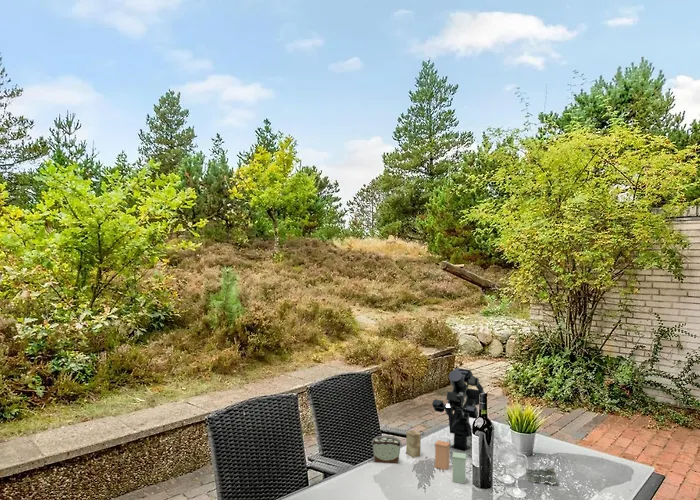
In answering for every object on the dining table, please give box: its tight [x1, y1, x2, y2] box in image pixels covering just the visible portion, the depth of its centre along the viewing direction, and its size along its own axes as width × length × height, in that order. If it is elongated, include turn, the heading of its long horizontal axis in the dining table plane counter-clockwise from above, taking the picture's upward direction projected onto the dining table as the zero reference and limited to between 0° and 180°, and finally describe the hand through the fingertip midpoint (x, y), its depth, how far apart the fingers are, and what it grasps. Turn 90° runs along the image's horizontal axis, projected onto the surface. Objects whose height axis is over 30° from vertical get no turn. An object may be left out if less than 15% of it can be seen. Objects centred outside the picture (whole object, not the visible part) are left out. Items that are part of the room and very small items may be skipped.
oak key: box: [405, 429, 422, 459], centre depth 190 cm, size 4×5×9 cm
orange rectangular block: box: [434, 440, 451, 471], centre depth 180 cm, size 4×5×9 cm
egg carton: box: [525, 467, 558, 483], centre depth 173 cm, size 11×8×4 cm
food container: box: [370, 435, 403, 465], centre depth 185 cm, size 12×6×10 cm, turn 84°
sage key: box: [451, 451, 467, 484], centre depth 169 cm, size 4×5×9 cm
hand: (450, 427), depth 189 cm, fingers closed
